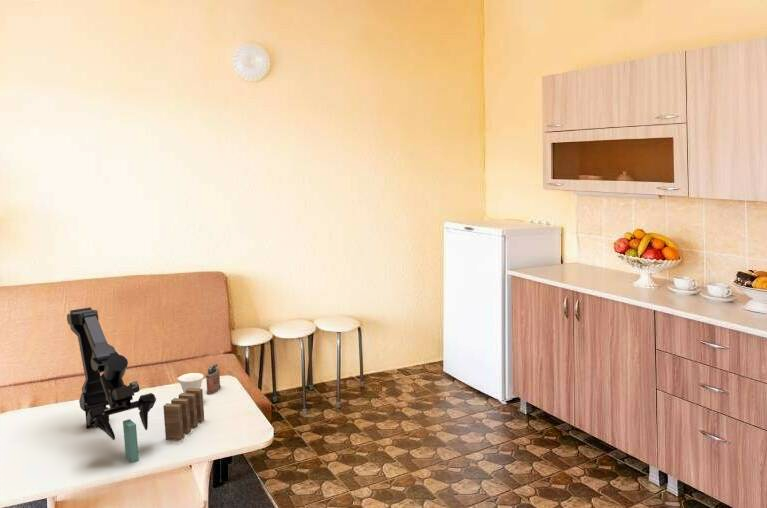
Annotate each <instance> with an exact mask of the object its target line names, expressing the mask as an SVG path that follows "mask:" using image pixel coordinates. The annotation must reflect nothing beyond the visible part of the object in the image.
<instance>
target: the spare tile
mask: <svg viewBox="0 0 767 508" xmlns="http://www.w3.org/2000/svg"><path fill="white" fill-rule="evenodd" d="M122 428H123V440H124V453H125V457H126V458H127V460H129V462H130V463H135V462H138V461H140V460H139V459H140V458H139V446H138V432H137V430H138V429H137V423H135V422H134V421H133V420H131V419H130V418H128V419H125V420H123V421H122Z"/></svg>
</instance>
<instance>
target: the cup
mask: <svg viewBox="0 0 767 508" xmlns="http://www.w3.org/2000/svg"><path fill="white" fill-rule="evenodd" d="M204 378H205V376H204V374H203V373H199V372H191V373H185V374H182V375H180V376H178V377H177V378H176V381H177V382H178V383H179V384H180V386H181V389H182V393H186V390H187V389H188V388H196V389H202V383H203V380H204Z"/></svg>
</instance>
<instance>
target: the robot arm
mask: <svg viewBox="0 0 767 508" xmlns="http://www.w3.org/2000/svg"><path fill="white" fill-rule="evenodd" d="M66 321H67V325H69V326H70V330H71V331H72V332H73V333H74V335H75V336H77V341H78V345H79V351H80V357H81V361H82V367H83V371H84V378H85V380H84V382H83V385H82V387H81V391H82V392H81V394H80V398H79V407H80V409H81V410H82V411H83V412H84V413H85V423H86V424H85V429H87V430H88V429H93V428H94V429H95V428H99V430H101V431H103V432H104V433H105V434H106V435H107V436H108V437H110V439H111V440H113V441H115V440H116V436H115V435H116V434H115V432H114V430H113V428H112V426H111V425H112V424H111V423H110V416H112V415H115V414H119V413H122V412H126V411H130V410H132V409H138V410H139V413H138V415H139V418H140V421H141V423H142V426H143V428H144V430H145V431H147V430H148V427H149V425H148V424H149V423H148V422H149V421H148V420H149V412H150V411H151V409H153V407H154V405H155V403H156V402H157V401H156V400H157V398H156V395H155V394H153V392H150V393H146V394H141V395H139V397H138V400H135V401H133V399H134V398H133V397H134V396H135V393H138V392H140V386H139V383H138V381H137V380H136V381H135V380H134V381H131V382H130V383H129V385H127V384H125V382H124V380H123V378H124V376H125V374H126V371H127V368H128V364H129V362H128V361H129V360H128V359H127V357H126V356H124V355H122V354H119V353H118V352H117V351H116V349H115V347H114V346H113V345H110V344H109V343H108V342H107V340H106V337H105V333H104V331H103V329H102V327H101V324H100V321H99V314H98V310H97V309H92V307H84V308H77V309H71V310H69V313H67V314H66ZM102 372H103V373H102ZM101 373H102V374H101ZM108 406H109V407H108Z"/></svg>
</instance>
